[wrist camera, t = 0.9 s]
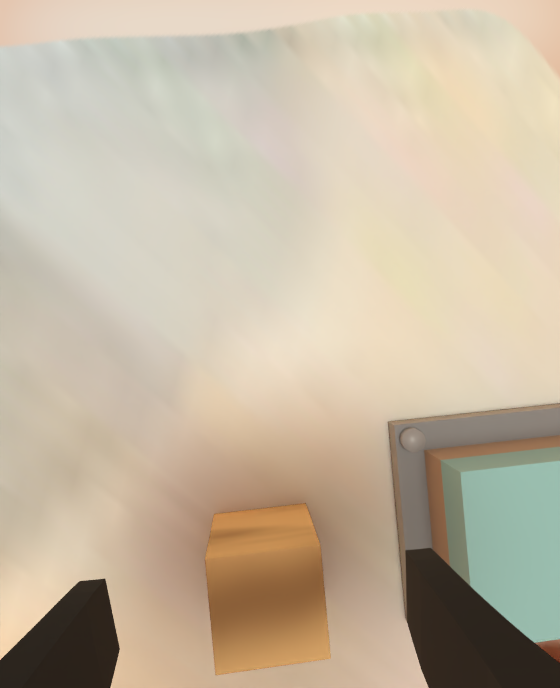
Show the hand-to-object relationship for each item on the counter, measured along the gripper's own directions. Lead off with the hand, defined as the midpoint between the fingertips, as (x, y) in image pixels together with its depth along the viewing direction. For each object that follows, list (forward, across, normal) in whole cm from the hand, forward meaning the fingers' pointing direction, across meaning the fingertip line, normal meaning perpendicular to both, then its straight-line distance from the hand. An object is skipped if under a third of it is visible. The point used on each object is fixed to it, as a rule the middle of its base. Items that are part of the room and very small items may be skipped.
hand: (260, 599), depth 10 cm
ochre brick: (+12, +1, +8) cm, 14 cm away
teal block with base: (+13, -12, +7) cm, 19 cm away
